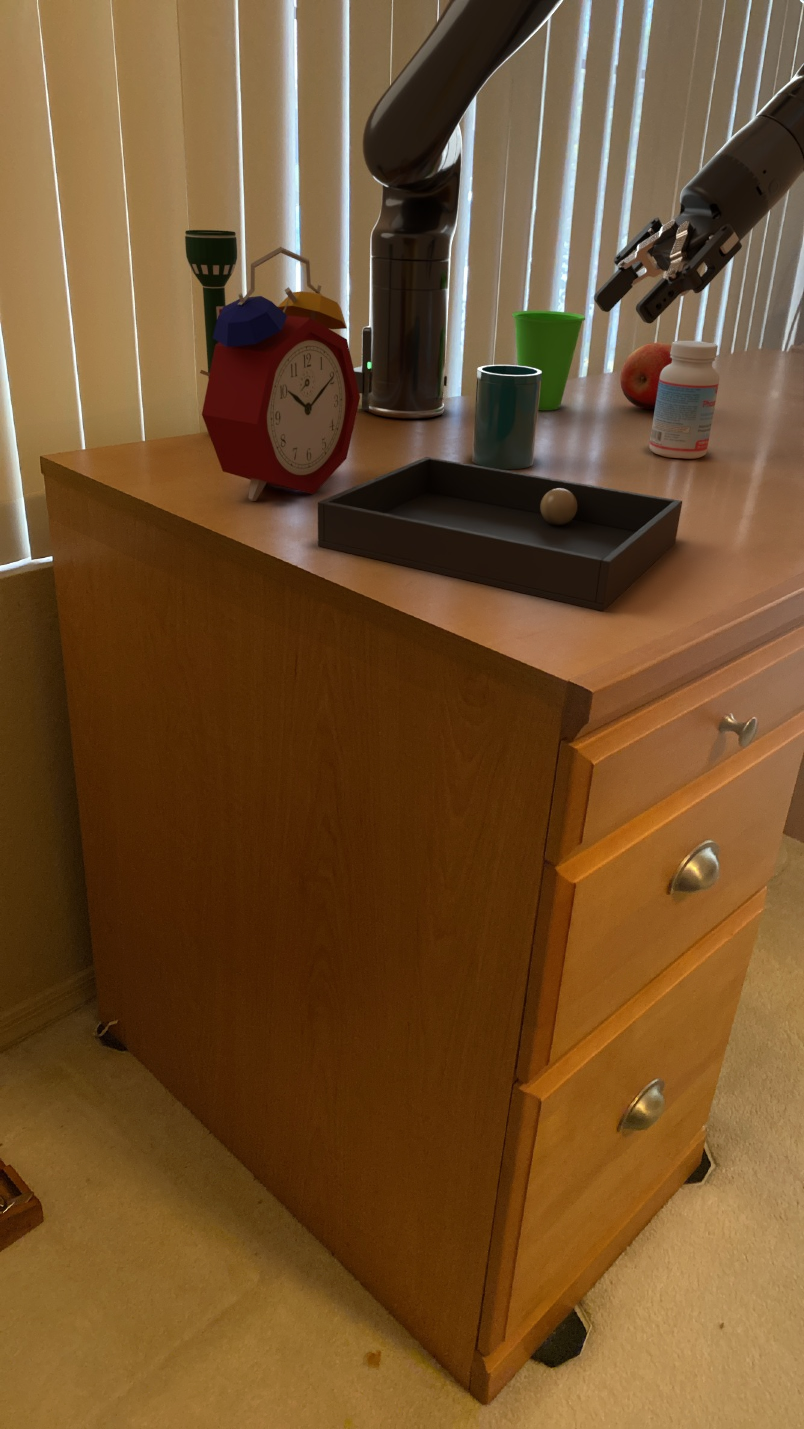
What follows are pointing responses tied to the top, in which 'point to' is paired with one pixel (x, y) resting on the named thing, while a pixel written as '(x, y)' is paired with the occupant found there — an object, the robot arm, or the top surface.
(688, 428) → the pill bottle
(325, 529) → the tray
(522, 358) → the cup
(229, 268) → the flashlight
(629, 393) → the apple
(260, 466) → the alarm clock
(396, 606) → the top surface
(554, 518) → the ball
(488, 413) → the pour cup
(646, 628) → the top surface
